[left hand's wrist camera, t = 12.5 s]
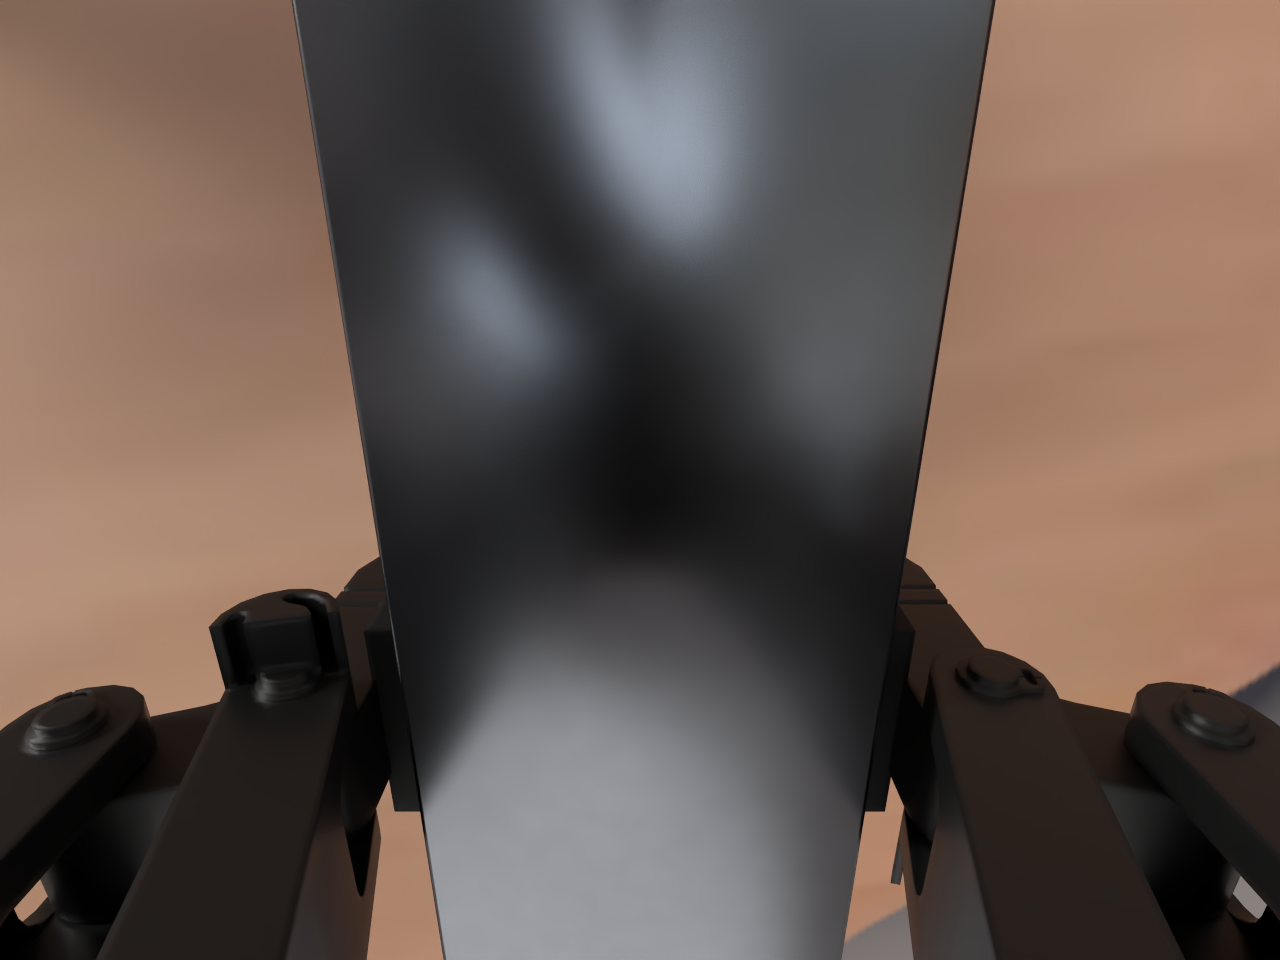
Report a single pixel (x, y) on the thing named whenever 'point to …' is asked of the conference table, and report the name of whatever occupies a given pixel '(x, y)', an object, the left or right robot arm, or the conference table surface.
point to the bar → (643, 435)
